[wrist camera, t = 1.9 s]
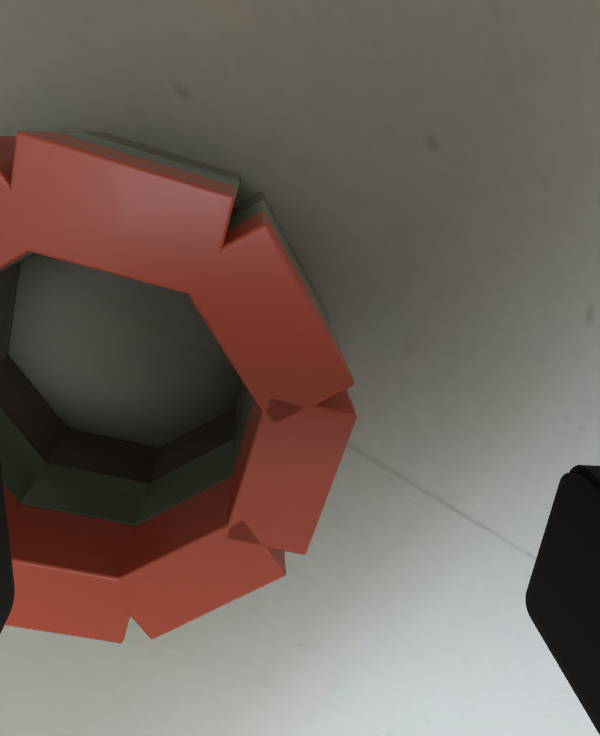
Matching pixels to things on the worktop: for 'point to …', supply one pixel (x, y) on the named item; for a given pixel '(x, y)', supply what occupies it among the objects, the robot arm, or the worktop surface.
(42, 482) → the ring stack
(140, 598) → the terracotta ring
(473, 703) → the worktop surface
